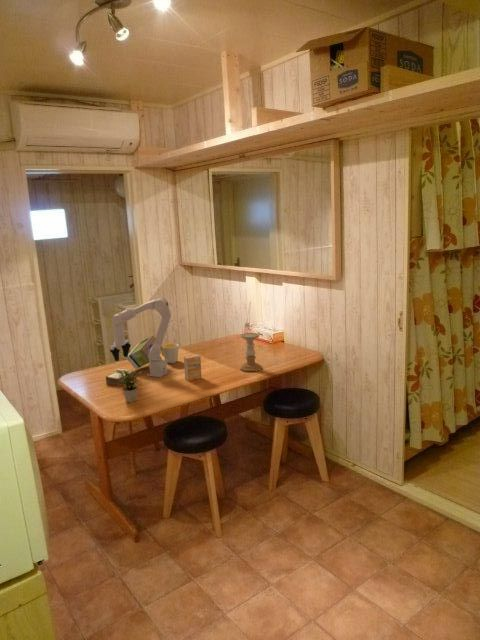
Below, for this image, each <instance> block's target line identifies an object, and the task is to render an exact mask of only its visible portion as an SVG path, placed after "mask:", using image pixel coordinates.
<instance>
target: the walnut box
mask: <svg viewBox="0 0 480 640" xmlns="http://www.w3.org/2000/svg"><path fill="white" fill-rule="evenodd" d="M133 371H134V372H135V375H137V373H136V372H137V371H136V370H133ZM134 372H132V373H130V376H129V378H130V381H131V378H132V377H133V374H134ZM114 373H116V371H114V372H113V373H110V374H108V375H107V376H105V383H106V385H109V386H110V385H111V386H117V387H119V385H120V384H123V385H121V386H120V387H124V386H126V385H125V384H124V383H123V382H121V380H124V379H123V378H124V377H126V376H124V377H123V378H120V379H113V378H108V376H110V375H112V374H114ZM128 375H129V374H128ZM135 375H134V376H135ZM134 378H135V377H134ZM135 380H137V377H136V378H135Z"/></svg>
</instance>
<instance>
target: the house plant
mask: <svg viewBox="0 0 480 640" xmlns="http://www.w3.org/2000/svg"><path fill="white" fill-rule="evenodd" d="M125 370H126V369H125ZM125 370H124V371H125ZM117 371H118V370H117ZM142 371H143V370H141V371H139V372H138V373H136V375H135V372H134V374H133V377H132V378H131V381H130V378H129V376H130V373H131V372H130V371H129V372H130V373H129V375H128V373H127V372H126V371H125V376H126V377H124V375H123V374H122V373H121V372H120V371H119V372H120V373H121V374H122V376H123V377H124V378H123V377H122V378H123V379H124V380H121V382H123V383H124V384H125V385H123V384H120V385H119V386H118V388H120V387H122V386H121V385H123V388H122V390H123V391H122V392H123V394H124V395H123V396H124V399H125V401H126V402H127V403H132V402H133V403H134V402H135V401H137V398H138V386H136V385H137V384H138V383H141V380H139V379H137V377H138V375H140V373H141V372H142ZM134 375H135V376H134ZM115 377H118V376H115ZM134 377H135V378H136V379H135V378H134Z"/></svg>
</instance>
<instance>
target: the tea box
mask: <svg viewBox="0 0 480 640" xmlns="http://www.w3.org/2000/svg"><path fill="white" fill-rule="evenodd" d="M155 338H156V336H155V335H151V336H149V337H147V338H146V339H143V340H142V341H140V342H139V343H137V344H136V345H135V347H134V348H133V349H132V350H131V351H130V352H128V357H125V358H126V360H127V361H128V362H129V364H130V365H131V366H132V367H133V368H134V370H138V369H140V368H142V367H143V366H146V365H147V364H148V365H149V357H148V354H149V352H150V349H151V348H152V347H153V344H154V341H155ZM162 346H163V345H161V349H162V348H163V347H162Z"/></svg>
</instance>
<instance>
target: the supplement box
mask: <svg viewBox="0 0 480 640" xmlns="http://www.w3.org/2000/svg"><path fill="white" fill-rule="evenodd" d="M201 357H202V356H201V355H199V353H197V354H193V355H192V354H191V355H186V356H183V363H184V364H183V366H184V368H183V369H184V379H185V380H186V381H187V382H190V381H195V379H196V380H199V378H201V379H202V377H203V375H202V359H201Z"/></svg>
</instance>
